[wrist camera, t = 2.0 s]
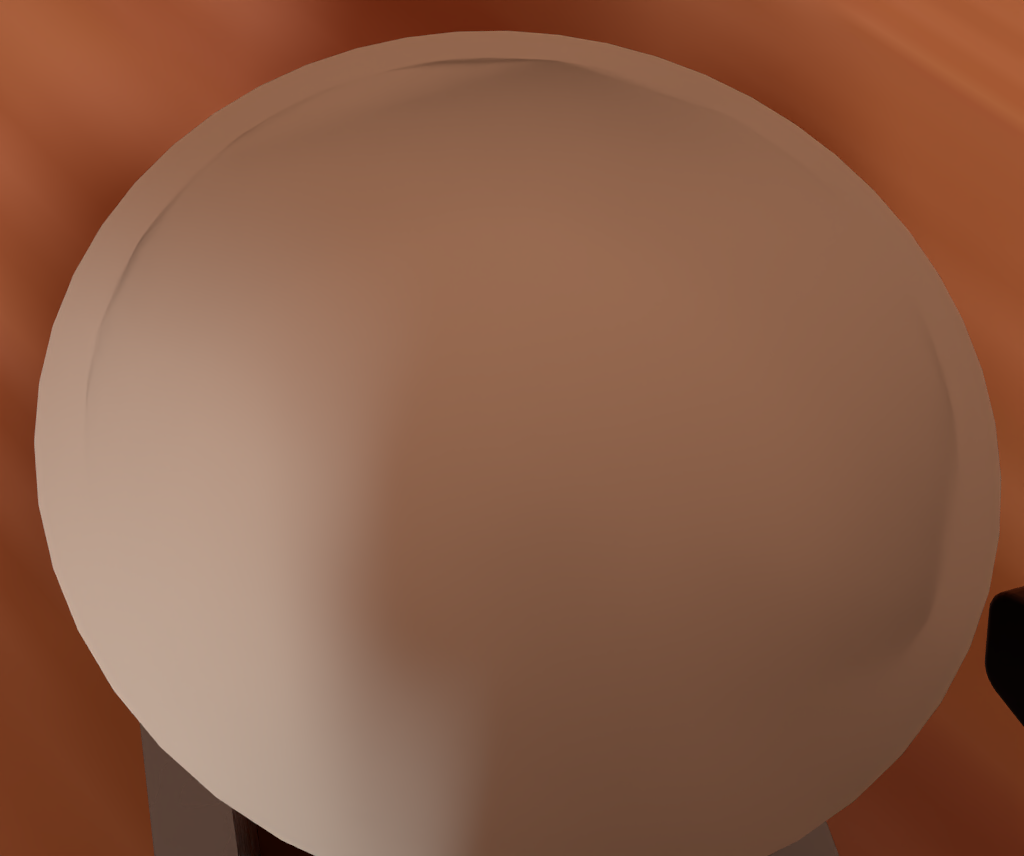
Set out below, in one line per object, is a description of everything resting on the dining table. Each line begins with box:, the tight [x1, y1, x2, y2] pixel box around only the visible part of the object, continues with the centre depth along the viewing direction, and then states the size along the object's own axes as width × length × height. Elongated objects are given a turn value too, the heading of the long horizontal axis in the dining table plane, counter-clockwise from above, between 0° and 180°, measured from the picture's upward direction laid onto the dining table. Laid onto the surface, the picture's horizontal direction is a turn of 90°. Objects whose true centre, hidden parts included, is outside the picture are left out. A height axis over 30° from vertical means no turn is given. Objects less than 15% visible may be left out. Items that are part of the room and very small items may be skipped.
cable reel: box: [34, 31, 1001, 856], centre depth 12 cm, size 7×7×13 cm
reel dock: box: [140, 723, 839, 856], centre depth 17 cm, size 10×10×2 cm
